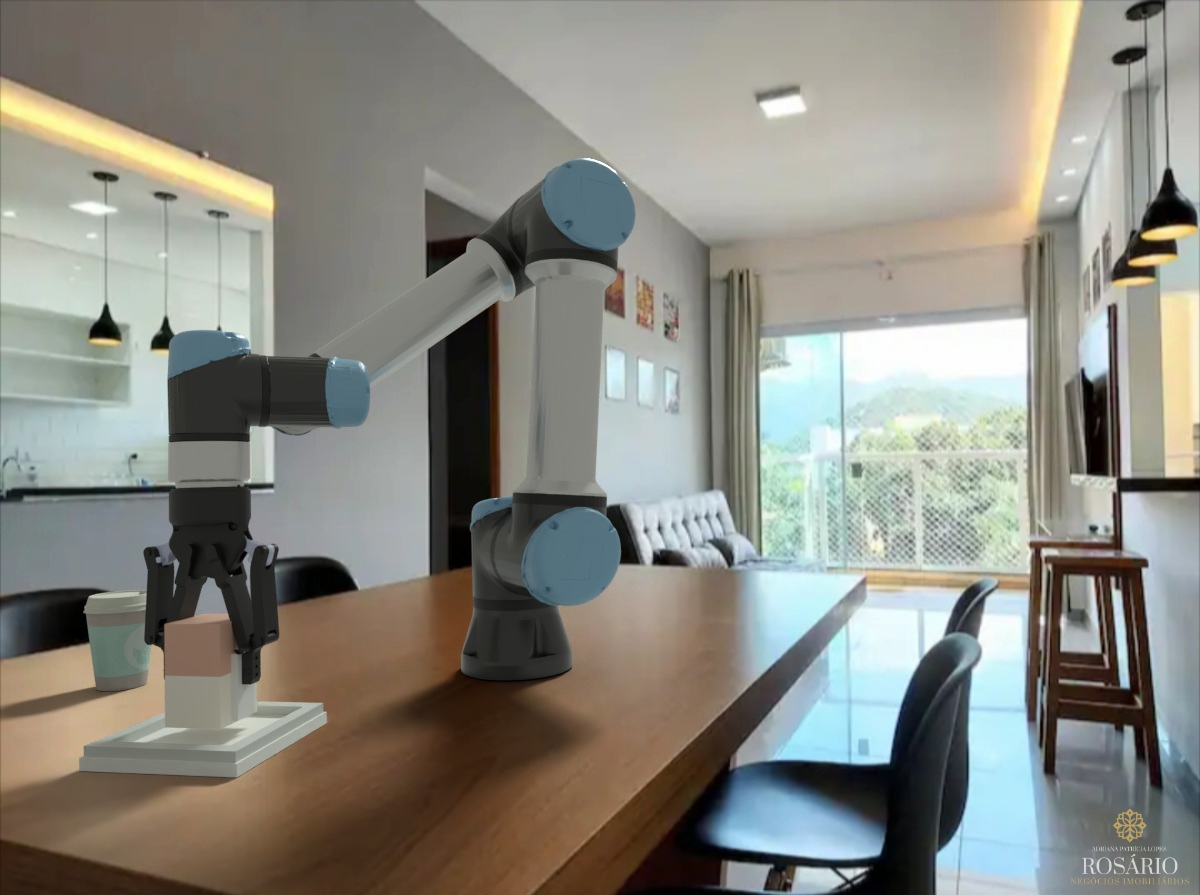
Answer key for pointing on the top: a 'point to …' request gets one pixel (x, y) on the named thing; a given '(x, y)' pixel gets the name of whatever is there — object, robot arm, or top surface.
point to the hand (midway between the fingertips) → (212, 715)
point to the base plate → (204, 743)
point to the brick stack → (199, 672)
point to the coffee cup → (118, 639)
